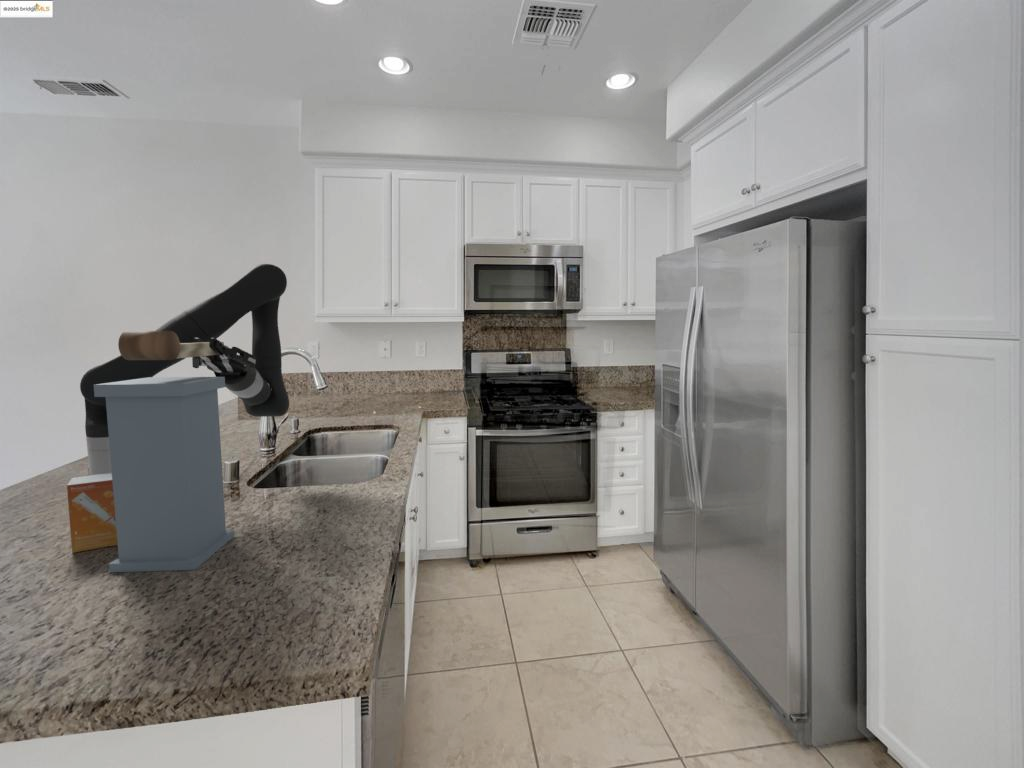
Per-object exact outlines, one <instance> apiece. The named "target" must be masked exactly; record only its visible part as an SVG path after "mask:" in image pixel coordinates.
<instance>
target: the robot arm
mask: <svg viewBox="0 0 1024 768" xmlns="http://www.w3.org/2000/svg"><path fill="white" fill-rule="evenodd" d="M287 284H288V280H287V275H286V273H285V272H284V271H283V269H281V268H280V267H278V266H277V265H275V264H271V263H268V264H267V263H261V264H257V265H256V266H254V267H252V268H251V269H249V271H248V272H247V273H245V274H244V276H242V277H240V278H239V279H238V280H237V281H236V282H234V283H233V284H232V285H230V286H229V287H227V288H226V289H223V290H222V291H220V292H218V293H216V294H214V295H212V296H210V297H208V298H206V299H204V300H201V301H200V302H198V303H196V304H195V305H192V306H191V307H190V308H187V309H186V310H184V311H182V312H181V313H179V314H177V315H176V316H174V317H172V318H171V319H169V320H168V321H167V322H165V323H164V324H162V325H161V326H160V327H158V328H157V329H156V330H155V331H173V332H175V333H176V334H177V336H178V338H179V341H180V343H201V342H210V344H209V346H210V348H211V349H212V350H213V351H214V352H215V353H216V354H217V355H210V356H199V357H191V358H192V360H191V361H192V368H194V369H199V368H200V367H206V368H207V370H209V371H212V372H213V373H214V375H215V376H214V377H225V387H224V388H226V389H227V390H228V391H230V392H231V393H232V394H234V395H236V396H237V397H239V399H241V401H242V403H243V406H244V409H245V412H246V413H247V414H248V415H250V416H252V417H259V418H260V417H282V416H285V415H286V414H287V413H288V411H289V409H290V399H289V395H288V392H287V391H288V390H287V389H286V386H285V383H284V381H285V380H284V378H283V372H282V365H283V364H282V347H281V346H282V345H281V339H280V337H281V336H280V331H279V320H278V318H279V317H278V316H279V306H280V305H279V304H280V301H281V300H280V299H281V296H283V294H284V293H285V292H286V289H287V286H288V285H287ZM250 312H251V320H252V321H251V323H252V324H251V325H252V333H251V334H252V336H251V337H252V340H251V343H252V344H251V353H249V352H248V351H245V350H243V349H241V348H239V347H238V346H232V347H229V346H228V345H227V344H226V345H225V344H224V345H223V344H222V343H221V342H222V341H220V340H219V339H218V338H220V337H221V336H222V335H224V334H225V333H226V332H227V331H228V330H230V328H231V327H232V328H233V326H234V325H235V324H236V323H237V322H239V320H240V319H242V318H243V317H244V316H246V315H247V314H248V313H250ZM185 359H186V358H177V359H175V360H126V359H124V358H123V357H122V355H121V354H120V355H118V356H117V357H114V358H112V359H110V360H109V361H107V362H104V363H102V364H98V365H96V366H95V367H92V368H90V369H88V370H87V371H86V372H85V374H83V375H82V378H81V380H80V383H79V388H80V393H81V395H82V396H83V398H84V407H85V425H84V428H85V436H86V438H85V439H86V447H87V448H86V449H87V458H88V459H87V460H88V461H87V462H88V468H87V476H91V475H97V474H107V473H112V470H111V458H110V445H109V433H108V421H107V409H106V397H95V396H94V385H96V384H103V383H110V382H118V381H125V380H132V379H140V378H147V377H155V376H156V375H157V374H159V373H161V372H162V371H164V370H166V369H168V368H170V367H172V366H174V365H175V364H178V363H179V362H182V361H183V360H185Z"/></svg>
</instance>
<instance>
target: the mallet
mask: <svg viewBox="0 0 1024 768" xmlns="http://www.w3.org/2000/svg"><path fill="white" fill-rule="evenodd" d="M117 342H118V344H117V345H118V346H117V347H118V351H119V353H120V355H122V357H123V358H124V359H126V360H175V359H177V358H185V359H186V358H188V359H189V358H192V357H199V356H210V355H217V354H216V353H215V352H214V351H213V350H212V349H211V348H210V346H209V344H210V342H201V343H180V341H179V338H178V336H177V334H176V333H175V332H173V331H156V330H126V331H123V332H121V334H120V335H119V338H118V341H117ZM220 342H221V343H222V344H223V345H225V342H224V341H220Z"/></svg>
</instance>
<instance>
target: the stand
mask: <svg viewBox="0 0 1024 768" xmlns="http://www.w3.org/2000/svg"><path fill="white" fill-rule="evenodd" d="M223 388H226V387H225V377H216V376H169V377H168V376H161V377H159V376H153V377H147V378H140V379H132V380H125V381H118V382H110V383H103V384H96V385H94V396H95V397H106V409H107V421H108V433H109V445H110V458H111V470H112V482H113V494H114V506H115V518H116V530H117V543H118V545H117V551H118V552H117V555H118V558H115V559H114V560H112V561H111V562H109V563H108V572H109V573H131V572H134V573H135V572H159V571H160V572H164V571H165V572H166V571H195V570H197V569H199V567H200V566H201V565H203V564H204V563H205V562H207V560H208V559H210V558H211V557H212V556H213V555H215V554H216V553H217V552H218V551H219V550H221V549H222V548H223V547H224V546H225V545H226V544H228V543H229V542H230V541H231V540H232V539H234V538H235V533H234V532H235V531H234V529H227V528H226V527H227V525H226V512H225V511H226V510H225V497H224V496H225V494H224V493H225V492H224V480H223V478H224V477H223V461H222V446H221V445H222V444H221V428H220V427H221V426H220V411H219V409H220V408H219V395H218V389H223ZM233 537H234V538H233ZM228 541H229V542H228ZM227 542H228V543H227ZM222 546H223V547H222ZM221 547H222V548H221ZM215 552H216V553H215Z"/></svg>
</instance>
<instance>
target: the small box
mask: <svg viewBox="0 0 1024 768" xmlns="http://www.w3.org/2000/svg"><path fill="white" fill-rule="evenodd" d="M66 492H67V494H66V495H67V504H68V505H67V507H68V516H69V520H68V521H69V532H70V541H71V542H70V543H71V553H72V554H74V553H80V552H85V551H90V550H91V551H92V550H96V549H97V550H98V549H102V548H108V546H109V547H113V546H118V543H117V530H116V518H115V506H114V494H113V482H112V473H107V474H97V475H91V476H88V475H85V476H75V477H72V478H71V479H70V480H69V481H68V483H67V484H66Z"/></svg>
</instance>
